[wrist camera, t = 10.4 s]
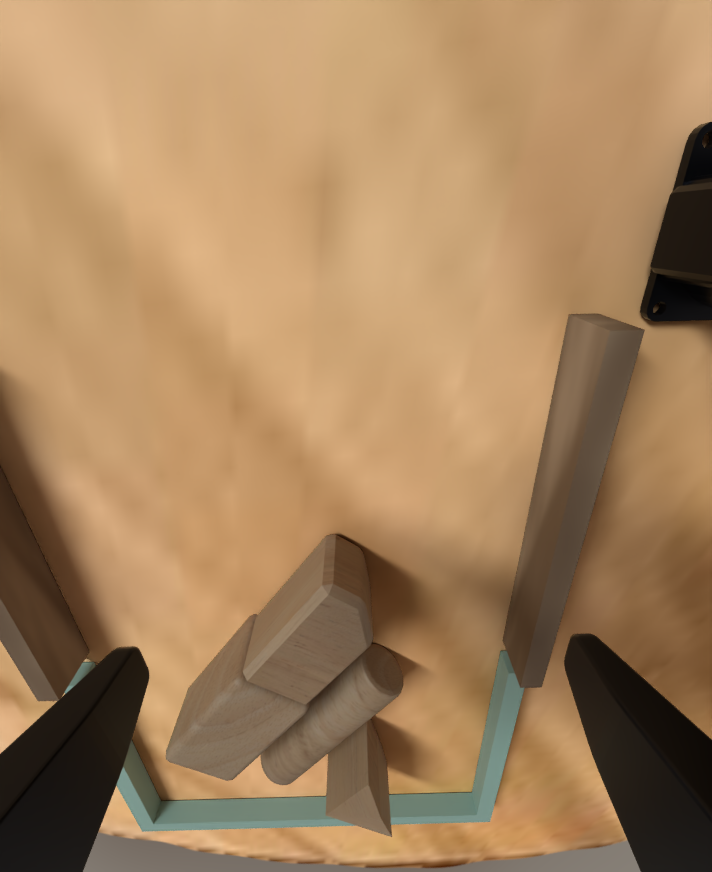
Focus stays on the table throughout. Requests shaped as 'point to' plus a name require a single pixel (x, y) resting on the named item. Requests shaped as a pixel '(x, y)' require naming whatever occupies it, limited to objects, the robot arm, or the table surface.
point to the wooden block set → (300, 691)
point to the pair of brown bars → (540, 554)
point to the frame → (313, 809)
